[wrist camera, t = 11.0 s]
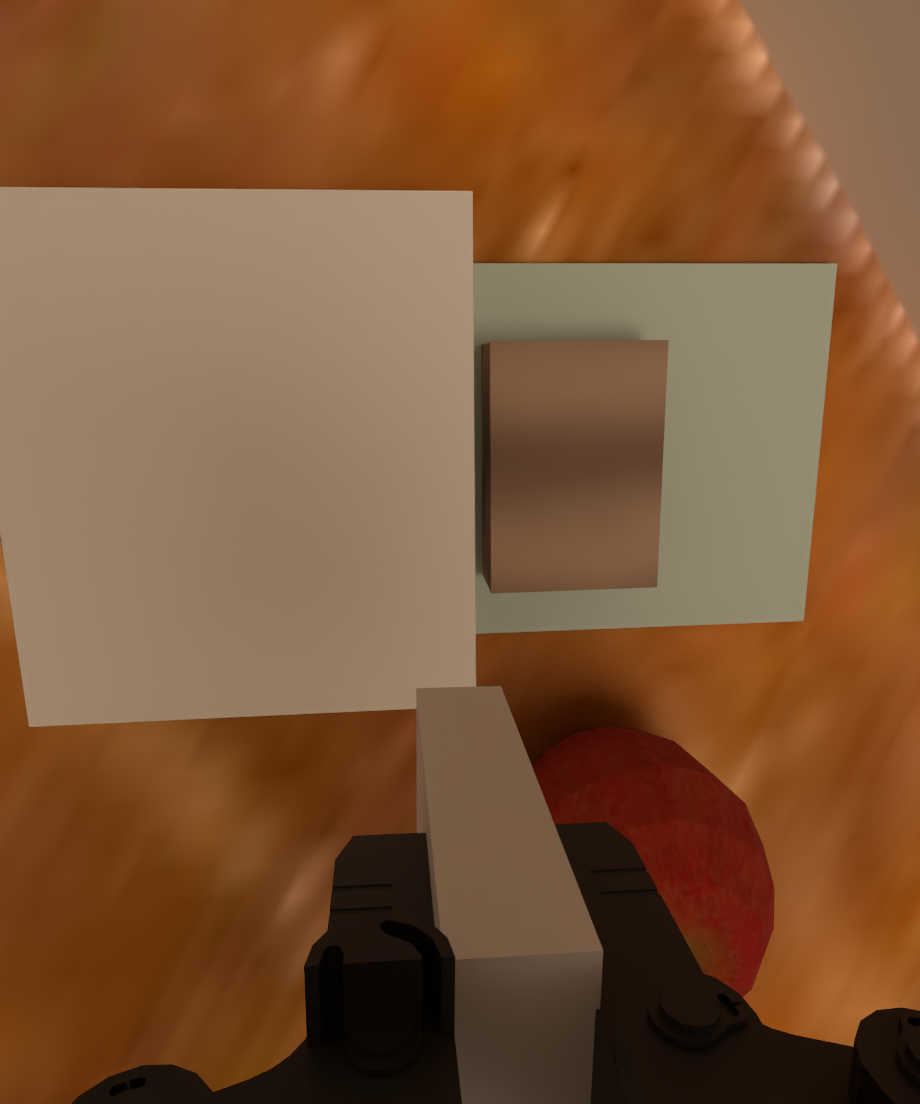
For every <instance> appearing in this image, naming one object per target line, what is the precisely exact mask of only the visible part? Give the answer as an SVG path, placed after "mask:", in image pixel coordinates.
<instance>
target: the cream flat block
mask: <svg viewBox="0 0 920 1104" xmlns="http://www.w3.org/2000/svg"><path fill="white" fill-rule="evenodd" d="M0 535H1V542H2V549H3V556H4V562H5V569H6V576H7V582H8V589H9V596H10V602H11V609H12V616H13V623H14V629H15V636H16V643H17V649H18V656H19V663H20V669H21V676H22V683H23V690H24V696H25V703H26V710H27V716H28V723H29V727H38V726H60V725H81V724H102V723H123V722H145V721H166V720H187V719H208V718H230V717H251V716H272V715H293V714H315V713H336V712H357V711H378V710H400V709H416V688H441V687H476V612H475V467H474V322H473V191H414V190H296V189H179V188H62V187H0Z"/></svg>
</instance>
